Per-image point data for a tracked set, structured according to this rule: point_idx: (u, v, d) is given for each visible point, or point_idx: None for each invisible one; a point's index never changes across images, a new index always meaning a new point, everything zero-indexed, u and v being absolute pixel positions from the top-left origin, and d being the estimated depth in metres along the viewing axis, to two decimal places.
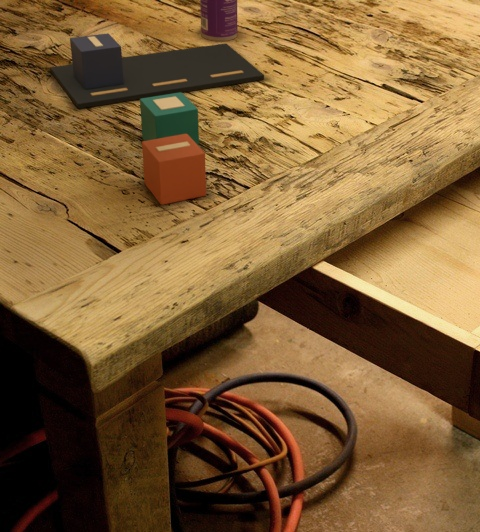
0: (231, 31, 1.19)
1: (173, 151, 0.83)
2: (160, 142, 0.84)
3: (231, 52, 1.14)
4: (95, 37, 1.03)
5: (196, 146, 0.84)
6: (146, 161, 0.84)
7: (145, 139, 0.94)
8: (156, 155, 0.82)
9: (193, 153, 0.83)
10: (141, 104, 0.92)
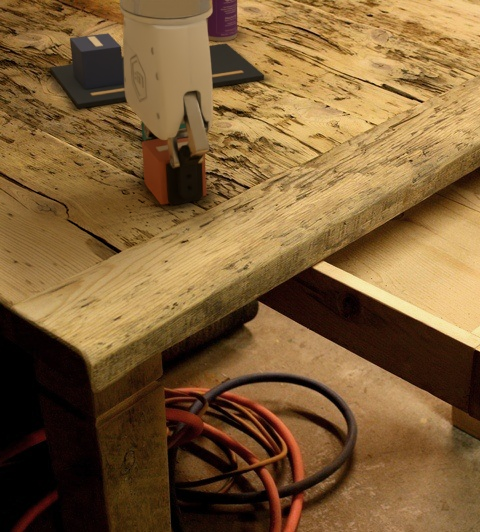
0: (231, 31, 1.19)
1: None
2: (160, 142, 0.84)
3: (231, 52, 1.14)
4: (95, 37, 1.03)
5: None
6: (146, 161, 0.84)
7: (145, 139, 0.94)
8: (156, 155, 0.82)
9: None
10: None
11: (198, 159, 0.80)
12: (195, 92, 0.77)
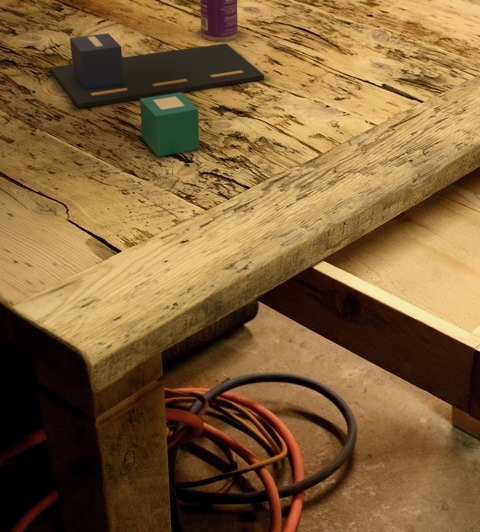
0: (231, 31, 1.19)
1: None
2: None
3: (231, 52, 1.14)
4: (95, 37, 1.03)
5: None
6: None
7: (145, 139, 0.94)
8: None
9: None
10: (141, 104, 0.92)
11: None
12: None
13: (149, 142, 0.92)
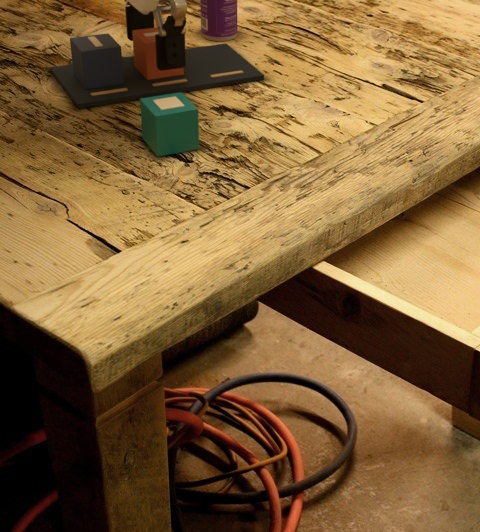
0: (231, 31, 1.19)
1: None
2: (147, 31, 1.06)
3: (231, 52, 1.14)
4: (95, 37, 1.03)
5: None
6: (135, 45, 1.06)
7: (145, 139, 0.94)
8: (143, 39, 1.04)
9: None
10: (141, 104, 0.92)
11: (181, 29, 0.99)
12: None
13: (149, 142, 0.92)
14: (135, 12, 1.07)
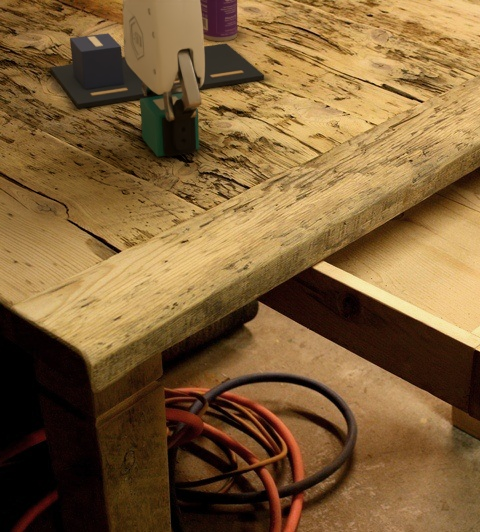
0: (231, 31, 1.19)
1: None
2: None
3: (231, 52, 1.14)
4: (95, 37, 1.03)
5: None
6: None
7: (145, 139, 0.94)
8: None
9: None
10: (141, 104, 0.92)
11: (191, 113, 0.88)
12: (188, 50, 0.85)
13: (149, 142, 0.92)
14: None
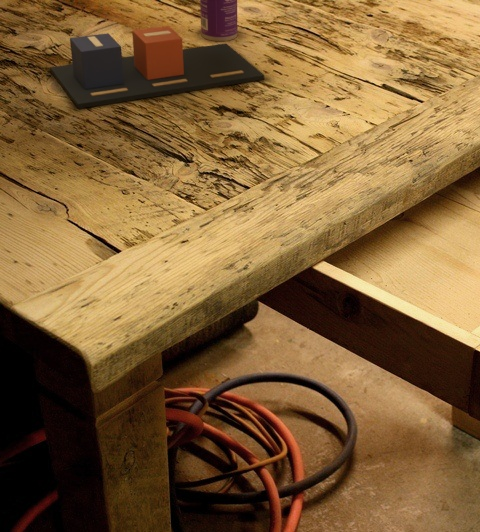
0: (231, 31, 1.19)
1: (157, 37, 1.05)
2: (147, 31, 1.06)
3: (231, 52, 1.14)
4: (95, 37, 1.03)
5: (175, 34, 1.06)
6: (135, 45, 1.06)
7: None
8: (143, 39, 1.04)
9: (172, 38, 1.05)
10: None
11: None
12: None
13: None
14: None
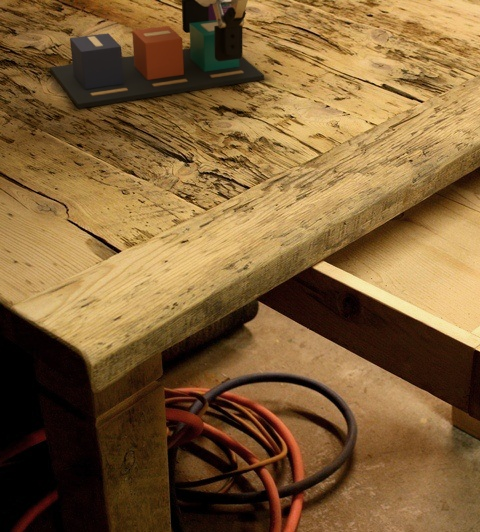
0: None
1: (157, 37, 1.05)
2: (147, 31, 1.06)
3: None
4: (95, 37, 1.03)
5: (175, 34, 1.06)
6: (135, 45, 1.06)
7: (193, 58, 1.11)
8: (143, 39, 1.04)
9: (172, 38, 1.05)
10: (190, 28, 1.09)
11: (240, 20, 1.02)
12: None
13: (197, 60, 1.09)
14: (191, 5, 1.10)
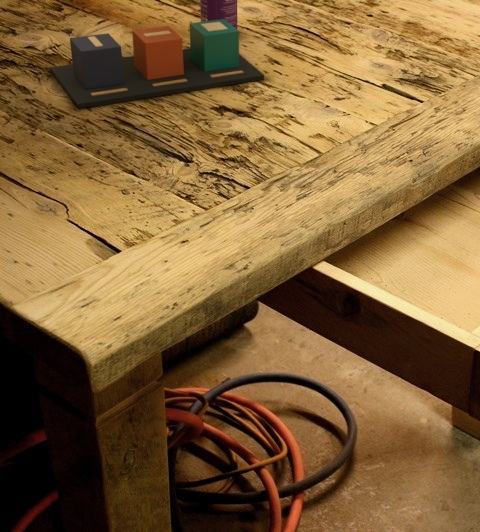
0: None
1: (157, 37, 1.05)
2: (147, 31, 1.06)
3: None
4: (95, 37, 1.03)
5: (175, 34, 1.06)
6: (135, 45, 1.06)
7: (193, 58, 1.11)
8: (143, 39, 1.04)
9: (172, 38, 1.05)
10: (190, 28, 1.09)
11: None
12: None
13: (197, 60, 1.09)
14: None
